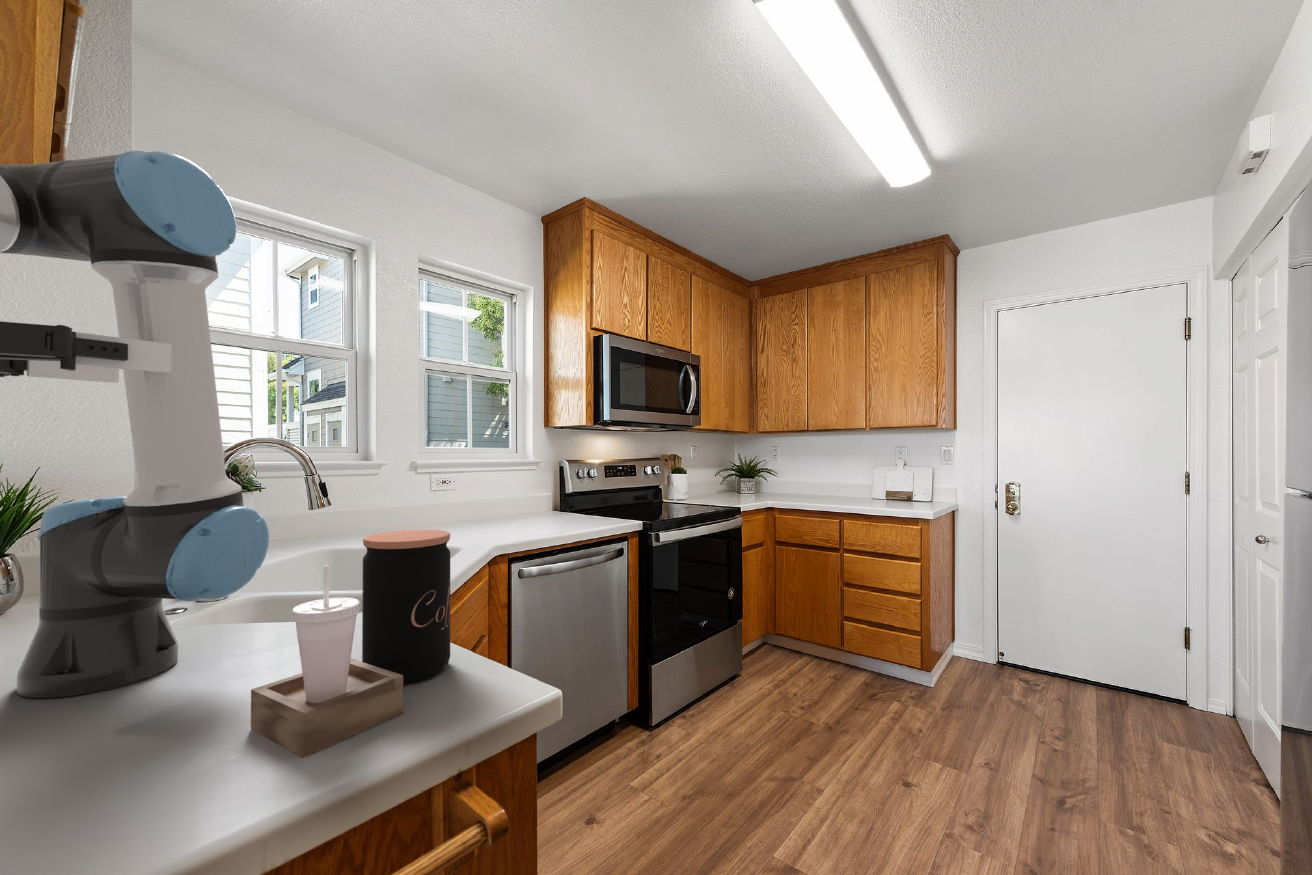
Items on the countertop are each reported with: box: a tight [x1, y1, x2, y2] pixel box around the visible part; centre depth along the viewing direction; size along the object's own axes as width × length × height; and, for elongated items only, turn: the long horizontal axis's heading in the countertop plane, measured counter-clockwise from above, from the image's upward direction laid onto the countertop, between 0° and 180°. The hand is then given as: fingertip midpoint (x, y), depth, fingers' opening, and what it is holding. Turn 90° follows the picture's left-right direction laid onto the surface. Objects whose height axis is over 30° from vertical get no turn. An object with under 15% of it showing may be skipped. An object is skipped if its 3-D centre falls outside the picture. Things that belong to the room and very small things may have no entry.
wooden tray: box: [250, 658, 404, 758], centre depth 61 cm, size 10×10×4 cm
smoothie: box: [291, 564, 361, 703], centre depth 61 cm, size 6×6×14 cm
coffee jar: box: [361, 529, 451, 686], centre depth 75 cm, size 11×11×18 cm
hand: (142, 364), depth 57 cm, fingers open, 13 cm apart
